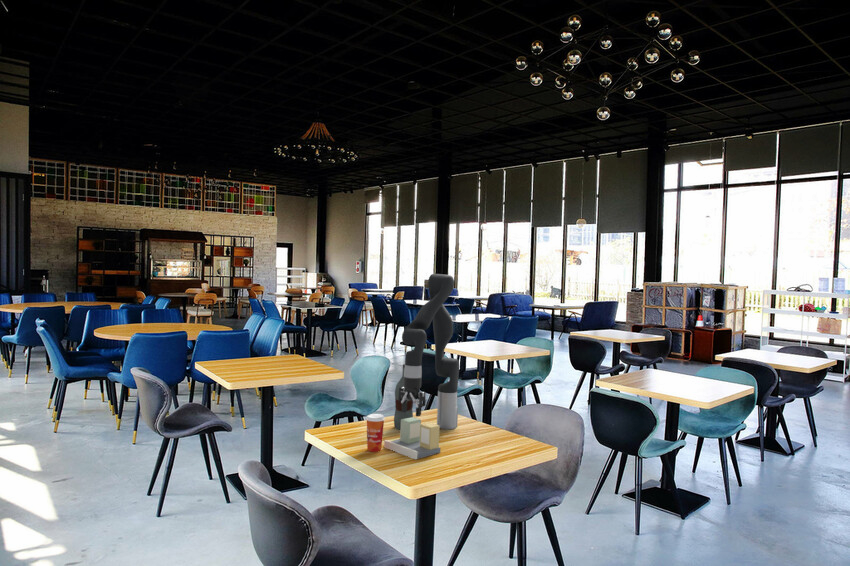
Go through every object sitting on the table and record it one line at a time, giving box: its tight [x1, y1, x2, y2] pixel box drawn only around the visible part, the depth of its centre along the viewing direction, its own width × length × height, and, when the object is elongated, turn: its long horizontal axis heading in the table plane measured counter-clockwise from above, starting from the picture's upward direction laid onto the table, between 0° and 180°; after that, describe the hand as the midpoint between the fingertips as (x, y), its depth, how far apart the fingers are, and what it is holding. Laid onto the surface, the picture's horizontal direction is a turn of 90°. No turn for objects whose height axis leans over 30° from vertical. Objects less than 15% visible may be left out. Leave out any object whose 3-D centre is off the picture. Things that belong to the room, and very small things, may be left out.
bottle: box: [393, 363, 414, 431], centre depth 254 cm, size 9×9×30 cm
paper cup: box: [365, 413, 386, 453], centre depth 220 cm, size 8×8×14 cm
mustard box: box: [420, 422, 440, 450], centre depth 220 cm, size 5×6×9 cm
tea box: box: [399, 416, 422, 444], centre depth 228 cm, size 5×7×9 cm
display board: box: [383, 438, 441, 460], centre depth 222 cm, size 14×19×3 cm
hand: (411, 414), depth 228 cm, fingers open, 8 cm apart
